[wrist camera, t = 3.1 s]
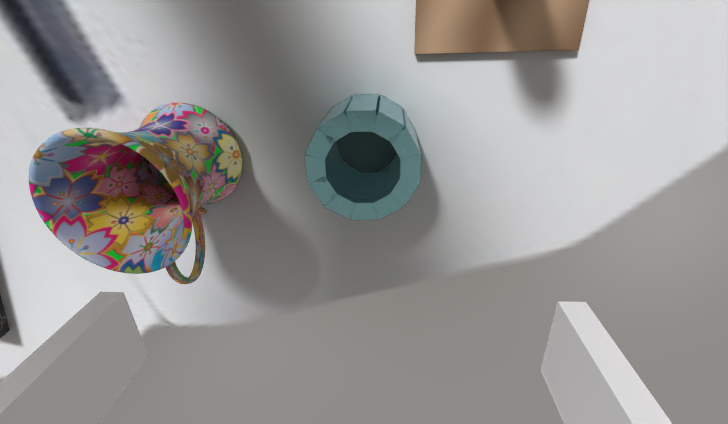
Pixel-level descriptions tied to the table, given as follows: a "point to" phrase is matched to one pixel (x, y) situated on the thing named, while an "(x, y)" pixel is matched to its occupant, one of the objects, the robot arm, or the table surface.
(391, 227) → the table surface
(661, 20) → the table surface
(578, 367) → the robot arm
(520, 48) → the peg on square base
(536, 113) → the table surface
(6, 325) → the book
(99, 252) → the mug
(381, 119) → the teal slatted pot
